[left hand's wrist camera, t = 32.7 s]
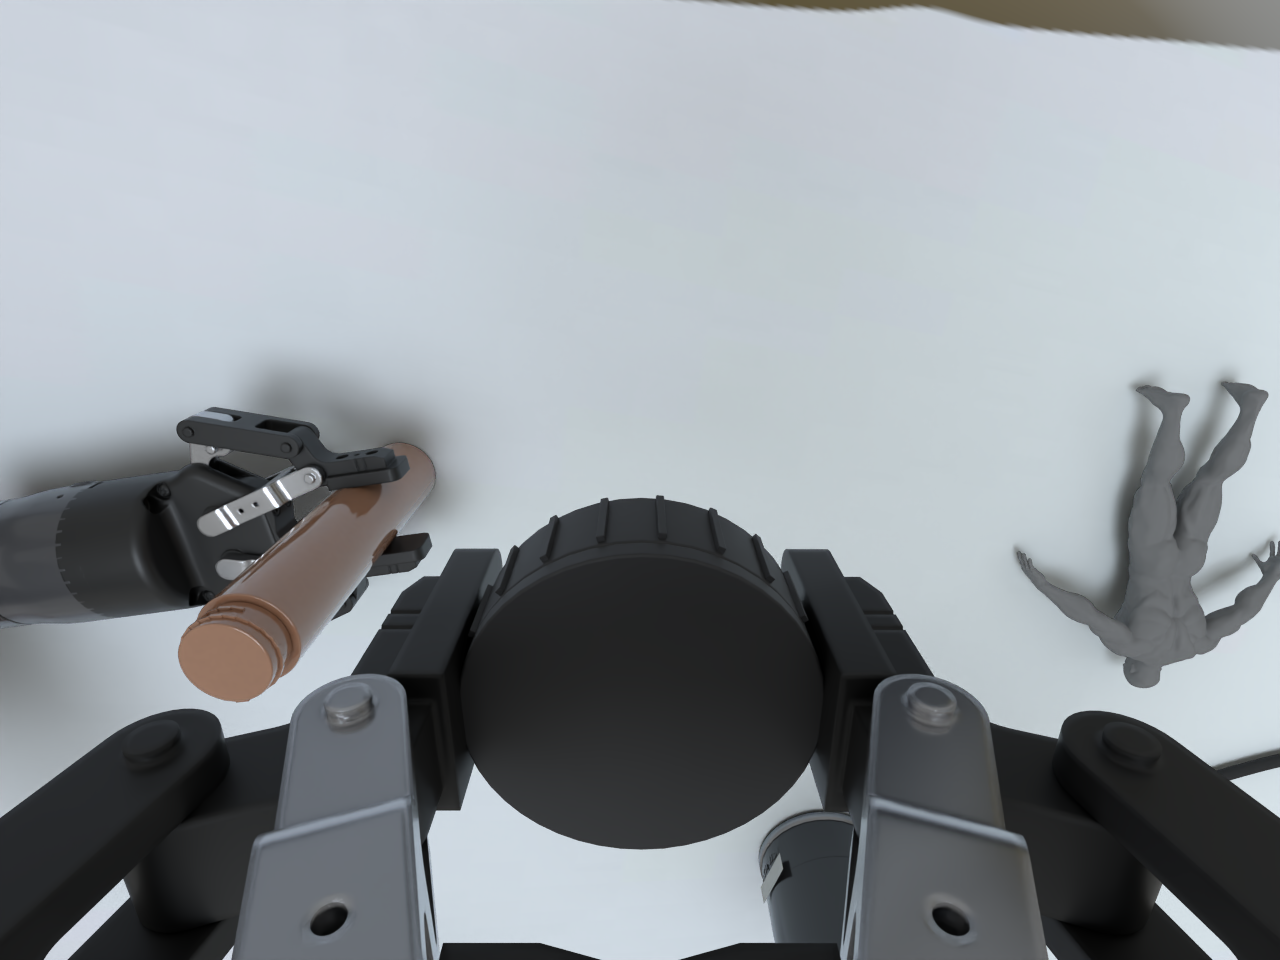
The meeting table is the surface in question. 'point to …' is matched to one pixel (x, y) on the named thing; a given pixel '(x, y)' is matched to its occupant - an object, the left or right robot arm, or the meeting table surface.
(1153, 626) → the figurine
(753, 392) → the meeting table surface
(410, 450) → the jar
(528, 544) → the lid
